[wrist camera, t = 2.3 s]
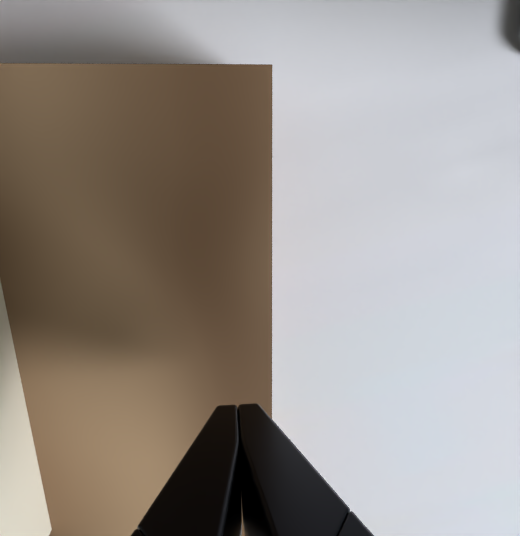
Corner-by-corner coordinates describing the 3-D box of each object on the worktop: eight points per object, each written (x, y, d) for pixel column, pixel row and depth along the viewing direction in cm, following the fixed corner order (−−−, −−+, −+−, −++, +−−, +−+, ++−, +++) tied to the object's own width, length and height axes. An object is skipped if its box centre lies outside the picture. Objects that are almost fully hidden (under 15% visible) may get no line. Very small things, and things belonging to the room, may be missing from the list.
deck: (255, 85, 12) (272, 64, 9) (261, 618, 19) (271, 739, 15) (-277, 84, 11) (-533, 60, 7) (-71, 652, 18) (-149, 791, 14)
